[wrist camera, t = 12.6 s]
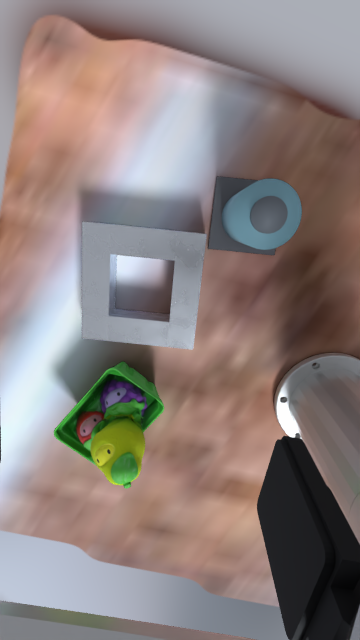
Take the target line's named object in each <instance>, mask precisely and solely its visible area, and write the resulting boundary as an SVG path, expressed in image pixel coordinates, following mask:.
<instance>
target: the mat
mask: <svg viewBox="0 0 360 640" xmlns="http://www.w3.org/2000/svg"><path fill="white" fill-rule="evenodd" d="M257 181H258V180H248V179H238V178H229V177H219V176H217V179H216V187H215V196H214V204H213V212H212V220H211V229H210V237H209V245H208V249H217V250H227V251H236V252H246V253H256V254H266V255H275V249H276V248H273V249H268V250H261V249H256V248H253V247H251V246H248V245H245V244H243V243H240V242H237V241H235V240H233V239H232V238H230V237H229V236H228V235H227V234H226V232H225V230H224V228H223V225H222V212H223V209H224V206H225V205H226V203H227V202H228V200H229V199H230V198H231V197H233V196H234V195H235V194H237V193H239V192H240V191H242V190H243V189H245V188H246V187H248V186H250V185H251V184H253V183H255V182H257Z"/></svg>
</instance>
